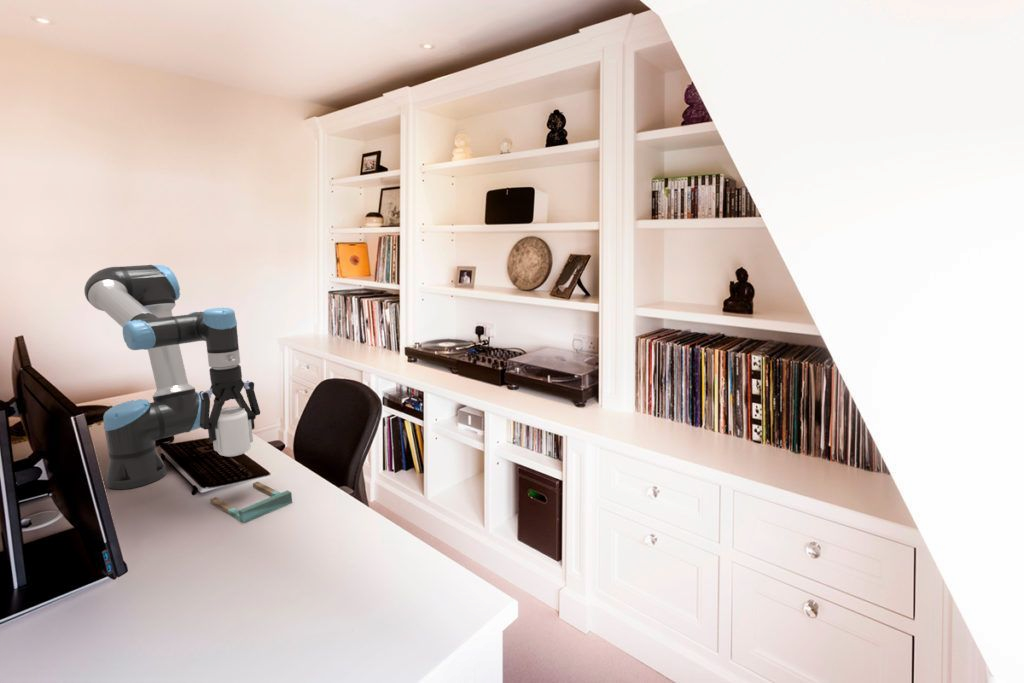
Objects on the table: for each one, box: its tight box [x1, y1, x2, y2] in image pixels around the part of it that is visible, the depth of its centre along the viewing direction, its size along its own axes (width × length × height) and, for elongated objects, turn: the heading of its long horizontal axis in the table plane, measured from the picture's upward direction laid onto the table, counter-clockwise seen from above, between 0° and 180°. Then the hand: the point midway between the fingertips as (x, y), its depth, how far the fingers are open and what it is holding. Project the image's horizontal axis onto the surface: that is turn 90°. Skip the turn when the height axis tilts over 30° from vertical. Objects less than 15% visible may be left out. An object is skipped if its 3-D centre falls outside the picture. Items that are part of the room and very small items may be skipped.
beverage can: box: [216, 406, 252, 458], centre depth 150 cm, size 8×8×12 cm
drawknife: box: [210, 481, 293, 524], centre depth 149 cm, size 18×14×3 cm
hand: (233, 445), depth 150 cm, fingers closed on beverage can, 8 cm apart
